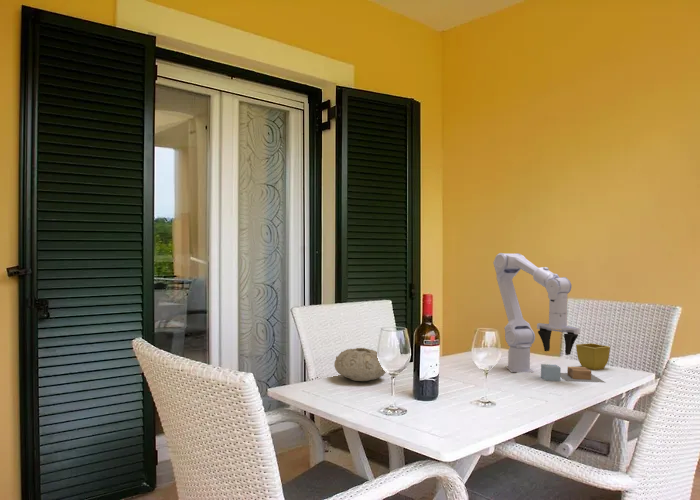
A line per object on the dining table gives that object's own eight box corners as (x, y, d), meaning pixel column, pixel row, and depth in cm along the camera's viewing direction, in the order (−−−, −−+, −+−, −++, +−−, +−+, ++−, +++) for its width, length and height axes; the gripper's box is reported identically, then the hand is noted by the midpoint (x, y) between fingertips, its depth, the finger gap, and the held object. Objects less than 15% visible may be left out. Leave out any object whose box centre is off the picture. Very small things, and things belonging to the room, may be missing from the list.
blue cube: (540, 378, 185) (541, 364, 185) (555, 379, 185) (555, 364, 185) (545, 382, 180) (545, 367, 180) (560, 382, 180) (560, 367, 180)
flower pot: (574, 367, 204) (575, 344, 204) (591, 365, 208) (591, 342, 208) (594, 372, 196) (594, 348, 196) (610, 370, 200) (611, 346, 200)
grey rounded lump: (397, 381, 178) (398, 351, 178) (356, 389, 167) (357, 357, 167) (363, 371, 192) (364, 343, 192) (323, 377, 181) (323, 348, 181)
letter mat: (554, 373, 193) (554, 372, 193) (591, 374, 192) (591, 373, 192) (566, 382, 180) (566, 381, 180) (605, 383, 179) (605, 382, 179)
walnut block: (567, 375, 189) (567, 366, 189) (584, 375, 189) (584, 367, 189) (573, 379, 183) (573, 370, 183) (591, 379, 183) (591, 370, 183)
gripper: (532, 311, 185) (531, 350, 185) (572, 315, 173) (571, 357, 173) (543, 310, 189) (542, 348, 189) (583, 314, 178) (582, 355, 178)
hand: (557, 352), depth 182 cm, fingers open, 7 cm apart
